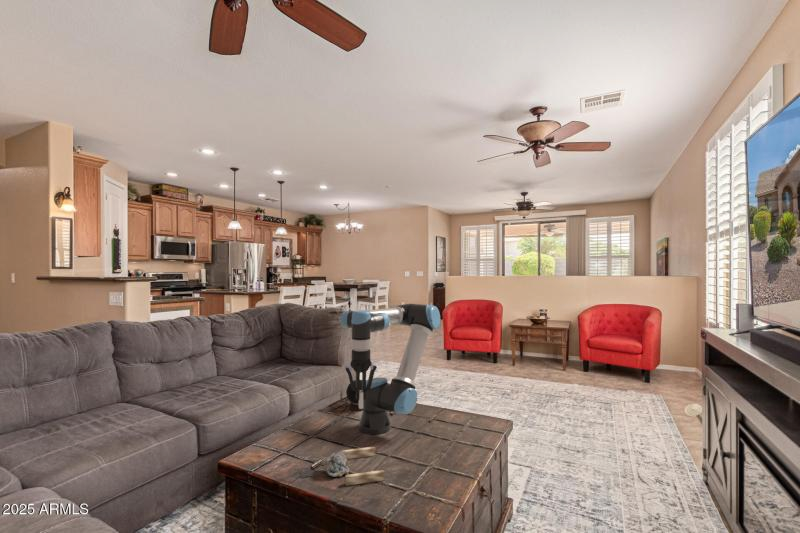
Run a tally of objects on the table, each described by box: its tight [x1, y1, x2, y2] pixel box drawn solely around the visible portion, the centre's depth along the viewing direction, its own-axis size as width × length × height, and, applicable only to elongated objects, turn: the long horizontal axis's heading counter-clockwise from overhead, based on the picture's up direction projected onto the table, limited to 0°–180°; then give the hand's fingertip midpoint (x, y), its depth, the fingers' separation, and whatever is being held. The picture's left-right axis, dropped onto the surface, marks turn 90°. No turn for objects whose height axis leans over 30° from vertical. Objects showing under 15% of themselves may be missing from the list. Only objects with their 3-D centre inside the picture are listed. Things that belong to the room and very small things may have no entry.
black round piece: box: [345, 379, 363, 412], centre depth 209 cm, size 13×13×15 cm
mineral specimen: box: [321, 450, 350, 478], centre depth 144 cm, size 10×8×10 cm
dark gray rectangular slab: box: [300, 469, 315, 479], centre depth 142 cm, size 5×4×1 cm
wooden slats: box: [339, 446, 386, 487], centre depth 146 cm, size 14×20×3 cm
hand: (360, 407), depth 154 cm, fingers closed
